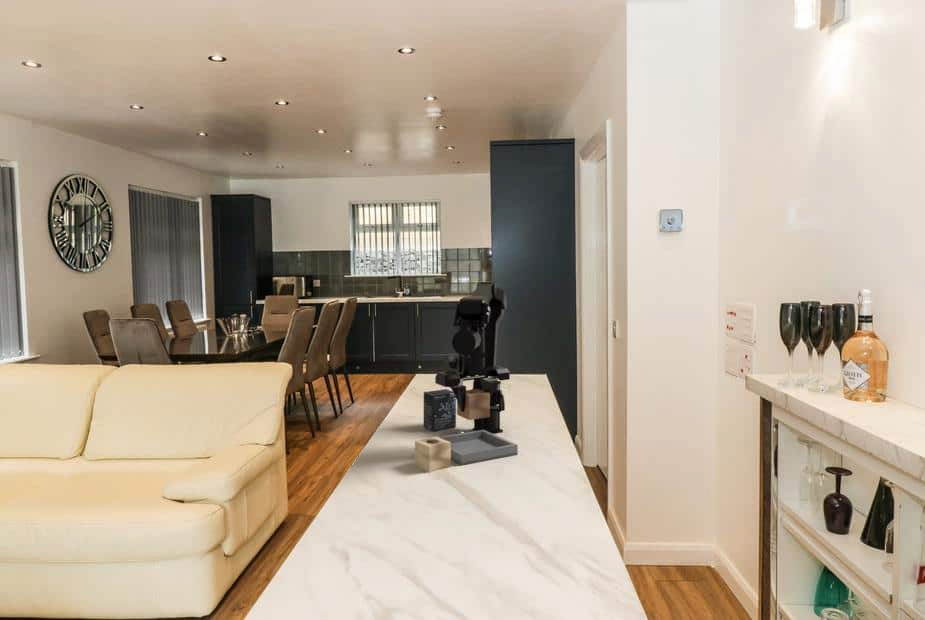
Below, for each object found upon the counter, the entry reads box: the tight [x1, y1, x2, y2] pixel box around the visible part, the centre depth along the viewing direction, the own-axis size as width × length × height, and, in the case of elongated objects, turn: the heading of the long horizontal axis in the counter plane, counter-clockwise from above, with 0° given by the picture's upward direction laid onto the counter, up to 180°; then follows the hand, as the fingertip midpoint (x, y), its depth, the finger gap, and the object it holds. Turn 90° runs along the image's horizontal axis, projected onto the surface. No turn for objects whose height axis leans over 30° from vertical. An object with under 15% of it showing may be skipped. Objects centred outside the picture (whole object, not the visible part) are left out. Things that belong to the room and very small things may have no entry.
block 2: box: [456, 388, 490, 421], centre depth 159 cm, size 6×6×6 cm
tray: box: [437, 430, 519, 466], centre depth 160 cm, size 16×16×2 cm
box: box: [423, 388, 457, 433], centre depth 182 cm, size 8×6×11 cm
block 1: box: [414, 436, 452, 473], centre depth 149 cm, size 6×6×6 cm
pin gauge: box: [439, 429, 467, 437], centre depth 168 cm, size 12×2×2 cm, turn 120°
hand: (473, 409), depth 159 cm, fingers closed on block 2, 6 cm apart
